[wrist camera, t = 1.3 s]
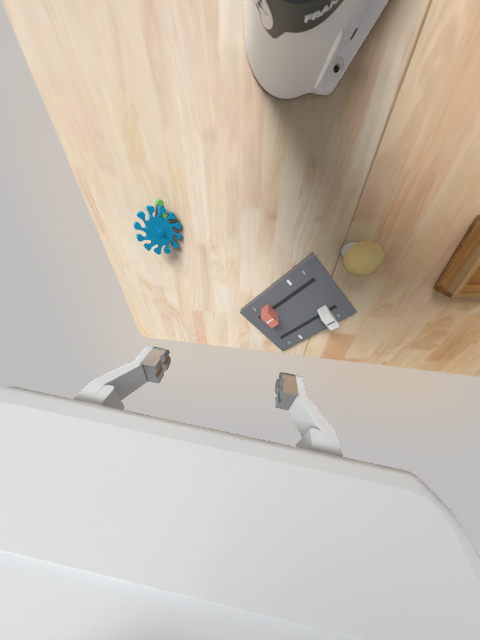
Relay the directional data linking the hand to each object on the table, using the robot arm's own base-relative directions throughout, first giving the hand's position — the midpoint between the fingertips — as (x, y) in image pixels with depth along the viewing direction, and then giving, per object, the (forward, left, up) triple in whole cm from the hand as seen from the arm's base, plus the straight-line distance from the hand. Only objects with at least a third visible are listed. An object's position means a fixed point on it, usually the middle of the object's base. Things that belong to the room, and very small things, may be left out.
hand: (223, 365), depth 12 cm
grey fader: (-3, +25, -33) cm, 42 cm away
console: (+3, +20, -36) cm, 41 cm away
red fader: (+8, +15, -33) cm, 37 cm away
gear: (+12, -18, -36) cm, 42 cm away
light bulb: (-15, +15, -36) cm, 42 cm away
